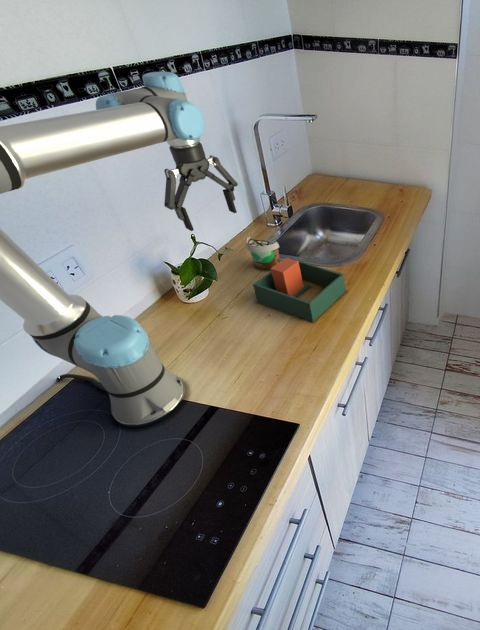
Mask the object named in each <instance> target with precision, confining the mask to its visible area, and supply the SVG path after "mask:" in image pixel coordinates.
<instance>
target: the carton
mask: <svg viewBox="0 0 480 630" xmlns="http://www.w3.org/2000/svg"><path fill="white" fill-rule="evenodd" d="M293 259H294V258H292V259H290V258H289V257H285V258H283V259H282V260H280V262H279V263H278V264H276V265H275V266H273V267H272V268H271V270H270V272H272V276H273V280H274V284H275V288H276V291H278V292H281V293H284V294H287V295H290V296H294V295H295V294H296V293H297V292H299V291H300V290H301V289H302V288H304V287H305V286H304V283H303V279H302V277H301V272H300V266H299V261H300V260H298V261H296V260H297V259H295V260H293Z"/></svg>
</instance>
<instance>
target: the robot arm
mask: <svg viewBox="0 0 480 630" xmlns="http://www.w3.org/2000/svg"><path fill="white" fill-rule="evenodd" d="M141 77H142V78H141V79H142V82H143V86H141V87H138V88H132V89H129V90H124V91H118V92H110V93H109V94H105V95H101V96H99V97H97V99H96V101H95V109H94V110H88V111H82V112H75V113H71V114H64V115H59V116H53V117H48V118H41V119H36V120H31V121H30V120H29V121H23V122H17V123H12V124H7V125H1V126H0V195H3V194H5V193H8V192H12V191H16V190H19V189H21V188H23V187H24V184H25V182H26V181H25V180H28V179H31V178H35V177H38V176H43V175H46V174H50V173H53V172H57V171H62V170H64V169H69V168H72V167H76V166H79V165H83V164H88V163H90V162H94V161H99V160H102V159H105V158H109V157H113V156H117V155H120V154H124V153H129V152H132V151H135V150H140V149H142V148H143V149H144V148H146V147H150V146H154V145H157V144H162V143H165V142H166V143H167V145H168V146H169V151H170V154H171V156H172V159H173V162H174V164H175V168H171V169H170V168H165V169H164V171H163V172H164V174H165V178H166V179H165V190H164V191H165V192H164V203H163V204H164V208H167V209H168V210H172V211H173V210H174V212H175V214H176V216H177V218H178V220H180V221H182V222H183V224H184V227H185V229H186V230H188V231H190V232H193V231H194V230H195V228H194V227H193V224H192V222H191V219H190V217H189V213H188V212H187V209H186V208H185V207H184V206H183V205H184V202H185V199H186V196H187V194H188V191H189V188H190V186H191V185H192V183H197V182H198V181H200V180H205V179H206V177H207V178H209V180H212V181H213V182H215V183H216V184H218V185H219V186H221V187H223V188H224V189H222V193H223V196H224V199H225V202H226V205H227V208H228V211H229V212H231V213H233V214H236V213H237V212H238V211H237V208H236V205H235V202H234V201H236V196H235V193H234V192H235V189H236V188H235V187H238V185H239V184H238V182H237V181H236V180H235V179H234V177H233V176H232V175H231V174H230V173H229V172H228V171H227V169H225V167H224V166H223V164H222V163H221V161H220V159H219V157H218V156H214V155H212V154H210V155H209V157H208V158H207V156H206V153H205V150H204V147H203V144H202V143H201V142H200V141H201V137H202V135H203V133H204V132H205V127H206V126H205V125H206V124H205V122H206V121H205V118H204V114H203V113H202V111H201V109H200V108H199V107H198V106H197V105H196V104H194V103H193V102H190V101H188V99H187V95H186V94H187V93H186V92H185V90H184V87H183V84H182V82H181V80H180V78H179V76H178V75H177V74H176V73H174V72H171V71H153V72H148V73H144V74H143V75H142V76H141ZM210 166H212V167H213V168H215V170H216V171H217V172H218V174H220V175H221V177H223V178H224V180H223V179H221V178H220V177H219V176H217V175H216V174H214V173H213V172H212V171H210V170H209V169H210ZM178 175H180V176H179V180H178V182H179V183H178V186H177V178H178ZM225 180H226V181H225ZM176 188H177V189H176ZM0 301H1V302H2V303H3V304H5V306H7V307H8V308H9V309H11V311H13V312H15V313H16V314H17V315H18V316H19V317H21V318H22V319H23V320H24V321H23V324H22V325H23V326H22V329H23V331H25V333H26V334H28V335H29V336H30V337H31V338H32V341H33V342H34V343H35V345H37V347H39V348H40V350H42V351H43V352H45V353H47V354H49V355H51V356H53V357H56V358H59V359H61V360H63V361H65V362H67V363H70V364H72V365H74V366H76V367H78V368H80V369H83V371H86V372H89V373H90V374H92V375H93V376H95V377H96V379H95V378H93V377H91V376H86V375H81V374H74V373H73V374H72V373H65V374H64V373H63V374H61V375H59V376H60V379H59V378H58V377H59V376H57V377H56V379H55V380H56V382H59V381H60V382H61V381H62V380H63V379H77V380H83V381H85V382H86V381H87V382H90V383H92V384H93V385H94V386H95V387H97V388H99V389H100V390H102V391H104V392H107V394H108V396H109V400H110V412H111V415H112V417H113V418H114V420H115V421H116V422H117V423H118V424H119V425H120V426H122V427H125V428H128V429H129V428H131V429H139V428H145V427H149V426H152V425H155V424H157V423H160V422H161V421H163V420H165V419H167V418H168V417H170V416H171V415H172V414H173V413H175V412H176V411H177V410H178V409H179V407H181V405H182V403H183V402H184V400H185V398H186V394H187V390H186V386H185V384H184V382H183V380H182V379H181V378H180V377H179V376H178V375H176V374H175V373H174V372H172V371H170V369H168V368H166V367H165V365H164V364H163V361H162V360H161V358H160V357H159V355H158V353H157V351H156V349H155V347H154V345H153V343H152V342H151V340H150V338H149V336H148V333H147V332H146V330H145V329H144V328H143V327H142V325H141V324H140V322H138V321H137V320H135V319H134V318H132V317H130V316H127V315H121V314H114V315H112V316H110V315H104V316H103V315H102V314H100V313H99V312H98V311H97V310H96V309H95V308H94V307H93V306H92V305H91V304H90V303H89V302H88V301H86V299H85V298H84V297H83V296H82V295H78V294H73V293H72V294H69V293H68V292H66V290H64V288H62V287H61V286H60V285H59V283H57V282H56V281H55V280H54V279H53V278H52V276H50V275H49V274H48V273H47V272H46V271H45V270H44V269H43V268H42V267H41V266H40V265H39V264H38V263H37V262H36V261H35V260H33V258H32V257H31V256H29V254H28V253H26V251H25V250H23V248H22V247H20V246H19V245H18V244H17V243H16V242H15V241H14V240H13V239H12V237H10V235H8V234H7V233H6V232H5V231H4V229H2V228H1V227H0Z"/></svg>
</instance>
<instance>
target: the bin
mask: <svg viewBox="0 0 480 630" xmlns="http://www.w3.org/2000/svg"><path fill="white" fill-rule="evenodd" d="M289 259H293V260H296V261H299V266H300V272H301V277H302V280H304V281H307V282H311V283H314V284H316V285H320V286H322V287H325V288H323V289H322V290H321V291H320V292H319V293H318V294H316V295H315V296H314V297H313V298H312V299H311V300H310V301H308V300H304V299H302V298H299V297H300V296H301V295H302V294H304V292H306V291H307V290H308V289H309V288H310V287H311V286H310V284H306V285H304V286H303V287H304V288H302V289H301V290H300V291H299V292H297V293H296V294H295V295H294V296H290V295H287V294H284V293H281V292H278V291H276V288H275V284H274V280H273V276H272V272H271V271H270V272H268V273H267V274H265V275H264V276H263V277H260V278H259V279H258V280H257V281H255V282H254V283H253V284H252V288H253V290H254V294H255V297H256V301H257V303H260V304H262V305H265V306H268V307H271V308H273V309H276V310H279V311H281V312H283V313H284V312H285V313H287V314H289V315H292V316H295V317H299V318H301V319H304V320H306V321H310V322H312V323H314V322H315V321H316V320H317V319H318V318H319V317H320V316H322V314H324V312H326V311H327V310H328V309H329V308H330V307H331V306H332V305H333V304H334V303H335V302H336V301H337V300H338V299H340V298H341V296H343V295H344V294H345V293H346V292H347V289H346V282H345V274H344V273H341V272H337V271H334V270H331V269H328V268H325V267H321V266H318V265H315V264H312V263H308V262H306V261H302V260H298V259H295V258H291V257H290V258H289Z"/></svg>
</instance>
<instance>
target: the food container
mask: <svg viewBox="0 0 480 630" xmlns="http://www.w3.org/2000/svg"><path fill="white" fill-rule="evenodd" d="M245 246H246V250H248V251H249V252H250V255H251V258H252V260H253V262H254V265H255V268H257V269H258V270H261V271H271V268H272V267H273V266H275V265H276V264H278V263H279V262H281V259H280V252H279V248H280V244H279V243H278V241H275V242H270V241H267V240H264V239H255V238H251V236H250V235H249V236H248V237H247V238H246V241H245Z"/></svg>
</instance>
